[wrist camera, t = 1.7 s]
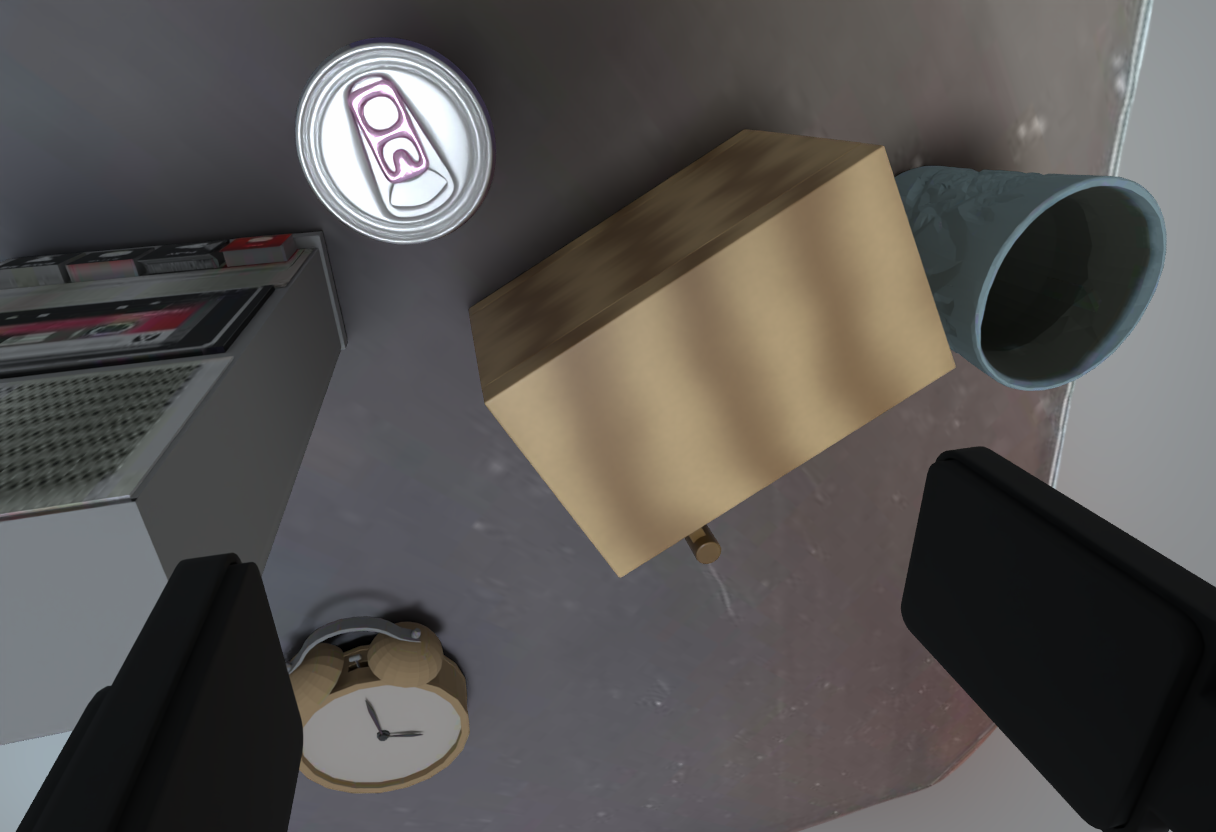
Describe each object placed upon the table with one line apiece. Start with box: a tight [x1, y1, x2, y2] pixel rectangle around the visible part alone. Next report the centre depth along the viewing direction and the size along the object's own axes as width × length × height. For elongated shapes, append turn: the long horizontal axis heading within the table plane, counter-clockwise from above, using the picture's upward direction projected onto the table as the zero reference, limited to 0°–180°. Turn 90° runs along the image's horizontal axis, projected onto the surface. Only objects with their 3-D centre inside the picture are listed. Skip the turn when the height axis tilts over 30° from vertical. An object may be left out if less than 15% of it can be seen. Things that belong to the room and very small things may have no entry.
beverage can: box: [295, 37, 496, 245], centre depth 27 cm, size 6×6×15 cm
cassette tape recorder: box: [0, 231, 348, 745], centre depth 23 cm, size 14×6×25 cm, turn 93°
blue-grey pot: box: [894, 166, 1166, 391], centre depth 37 cm, size 10×10×12 cm
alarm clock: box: [285, 616, 470, 793], centre depth 45 cm, size 11×5×15 cm
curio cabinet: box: [469, 129, 956, 578], centre depth 35 cm, size 18×12×13 cm, turn 120°
